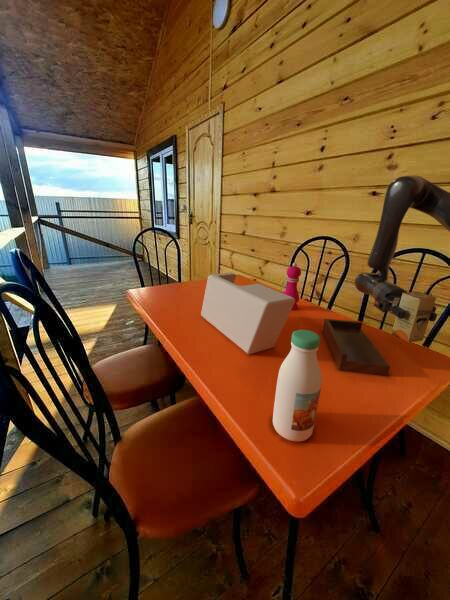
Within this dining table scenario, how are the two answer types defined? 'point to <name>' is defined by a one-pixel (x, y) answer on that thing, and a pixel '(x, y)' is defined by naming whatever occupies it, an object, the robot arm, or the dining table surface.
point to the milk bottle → (298, 388)
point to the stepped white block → (245, 312)
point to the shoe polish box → (413, 316)
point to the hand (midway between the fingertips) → (418, 316)
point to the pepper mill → (293, 283)
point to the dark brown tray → (353, 348)
